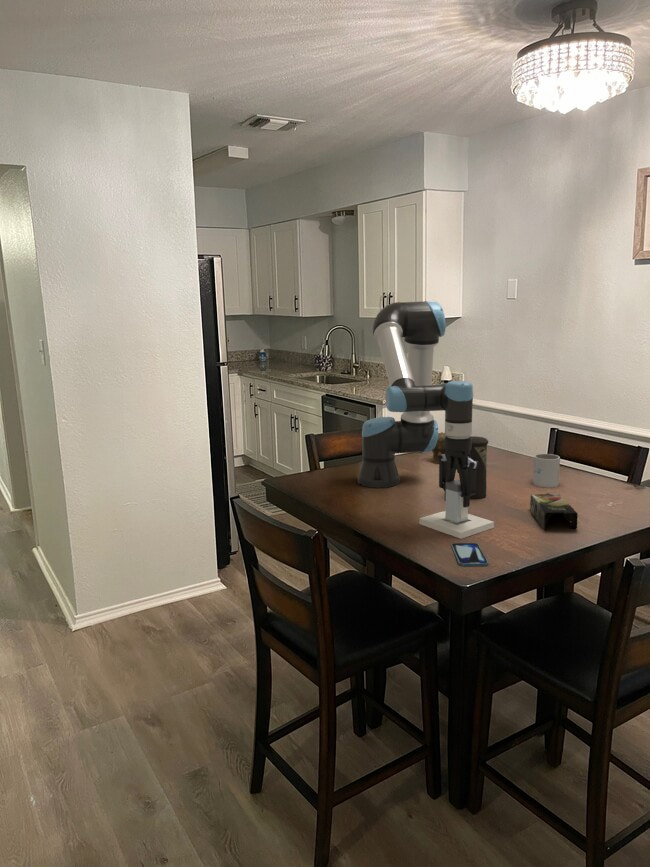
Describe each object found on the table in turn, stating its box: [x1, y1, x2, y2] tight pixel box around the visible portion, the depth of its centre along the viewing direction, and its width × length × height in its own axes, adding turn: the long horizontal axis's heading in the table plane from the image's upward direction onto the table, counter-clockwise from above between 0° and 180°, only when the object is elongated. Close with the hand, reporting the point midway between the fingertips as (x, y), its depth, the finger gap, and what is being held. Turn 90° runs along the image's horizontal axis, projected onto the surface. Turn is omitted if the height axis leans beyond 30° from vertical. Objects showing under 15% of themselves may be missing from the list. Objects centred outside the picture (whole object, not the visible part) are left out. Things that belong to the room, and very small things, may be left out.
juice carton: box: [529, 492, 579, 532], centre depth 195 cm, size 20×10×6 cm, turn 176°
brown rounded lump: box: [431, 431, 446, 464], centre depth 267 cm, size 11×11×12 cm
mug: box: [532, 453, 561, 488], centre depth 234 cm, size 12×9×10 cm
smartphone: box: [450, 542, 489, 567], centre depth 170 cm, size 7×1×15 cm
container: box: [461, 435, 489, 500], centre depth 219 cm, size 9×9×20 cm
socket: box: [419, 510, 495, 540], centre depth 192 cm, size 16×14×2 cm
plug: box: [444, 479, 468, 522], centre depth 190 cm, size 4×4×11 cm
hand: (456, 514), depth 191 cm, fingers closed on plug, 4 cm apart
